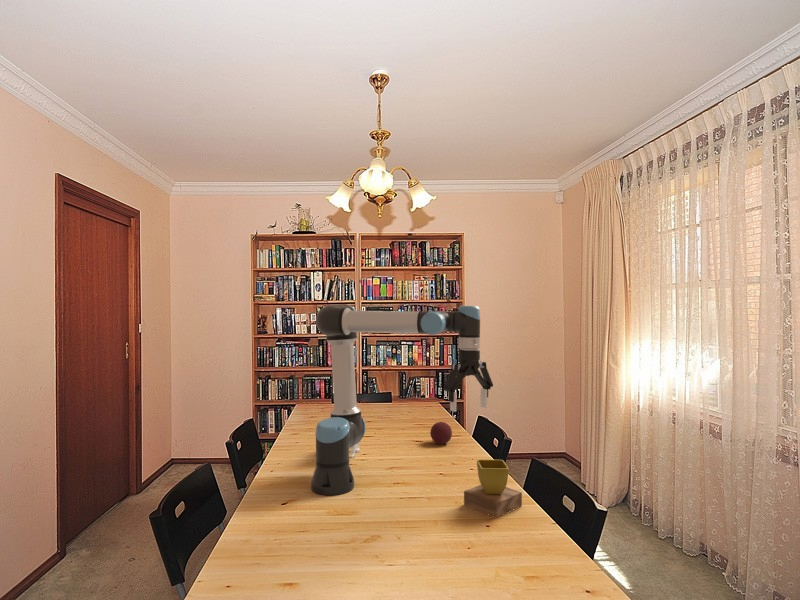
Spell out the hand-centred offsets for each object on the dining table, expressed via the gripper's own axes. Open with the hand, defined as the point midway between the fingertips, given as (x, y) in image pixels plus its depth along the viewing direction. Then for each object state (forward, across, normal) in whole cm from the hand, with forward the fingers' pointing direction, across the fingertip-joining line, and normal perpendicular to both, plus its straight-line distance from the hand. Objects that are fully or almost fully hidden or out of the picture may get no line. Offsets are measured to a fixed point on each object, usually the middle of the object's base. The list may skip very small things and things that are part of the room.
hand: (468, 409), depth 177 cm
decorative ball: (+28, +22, +49) cm, 60 cm away
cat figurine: (+28, -21, +56) cm, 66 cm away
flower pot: (+23, -4, -17) cm, 29 cm away
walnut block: (+28, -4, -17) cm, 33 cm away
